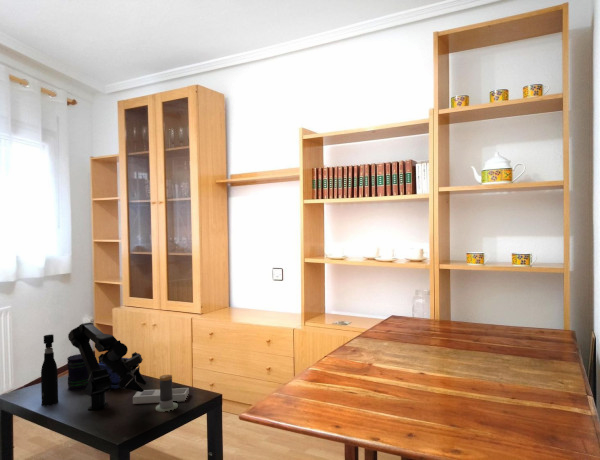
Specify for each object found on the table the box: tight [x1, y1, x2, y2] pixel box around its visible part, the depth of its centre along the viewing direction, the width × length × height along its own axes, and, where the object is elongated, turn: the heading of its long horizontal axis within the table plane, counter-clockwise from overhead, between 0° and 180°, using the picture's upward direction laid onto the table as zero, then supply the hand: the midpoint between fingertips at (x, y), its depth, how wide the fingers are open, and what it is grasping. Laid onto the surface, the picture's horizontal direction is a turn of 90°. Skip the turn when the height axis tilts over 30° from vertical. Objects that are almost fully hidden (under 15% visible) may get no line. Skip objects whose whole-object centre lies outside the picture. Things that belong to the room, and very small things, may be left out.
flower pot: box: [98, 357, 131, 390], centre depth 214 cm, size 13×13×12 cm
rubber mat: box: [155, 402, 179, 413], centre depth 183 cm, size 9×9×1 cm
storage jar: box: [67, 353, 90, 392], centre depth 213 cm, size 10×10×15 cm
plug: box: [159, 374, 173, 409], centre depth 183 cm, size 6×6×12 cm
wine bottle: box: [40, 334, 59, 407], centre depth 192 cm, size 6×6×30 cm
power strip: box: [132, 387, 190, 405], centre depth 193 cm, size 8×22×3 cm, turn 94°
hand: (144, 387), depth 182 cm, fingers open, 9 cm apart
